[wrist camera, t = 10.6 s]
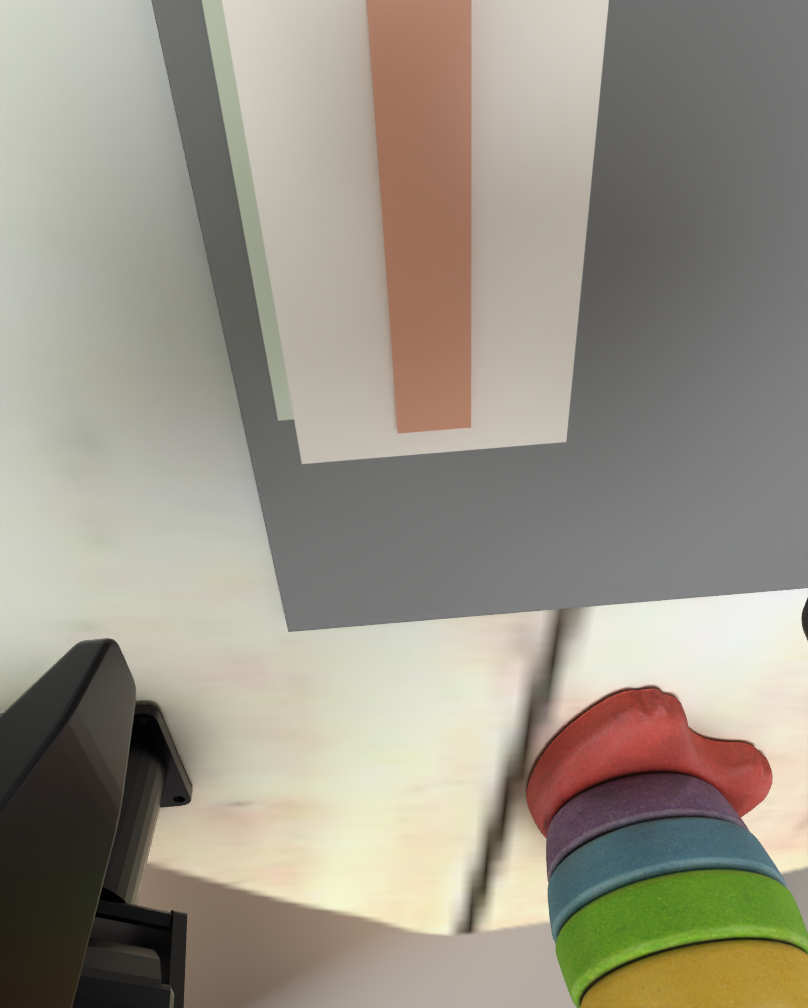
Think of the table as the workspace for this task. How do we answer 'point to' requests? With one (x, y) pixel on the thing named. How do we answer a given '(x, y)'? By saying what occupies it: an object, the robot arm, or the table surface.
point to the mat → (598, 353)
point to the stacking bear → (663, 865)
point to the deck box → (422, 212)
